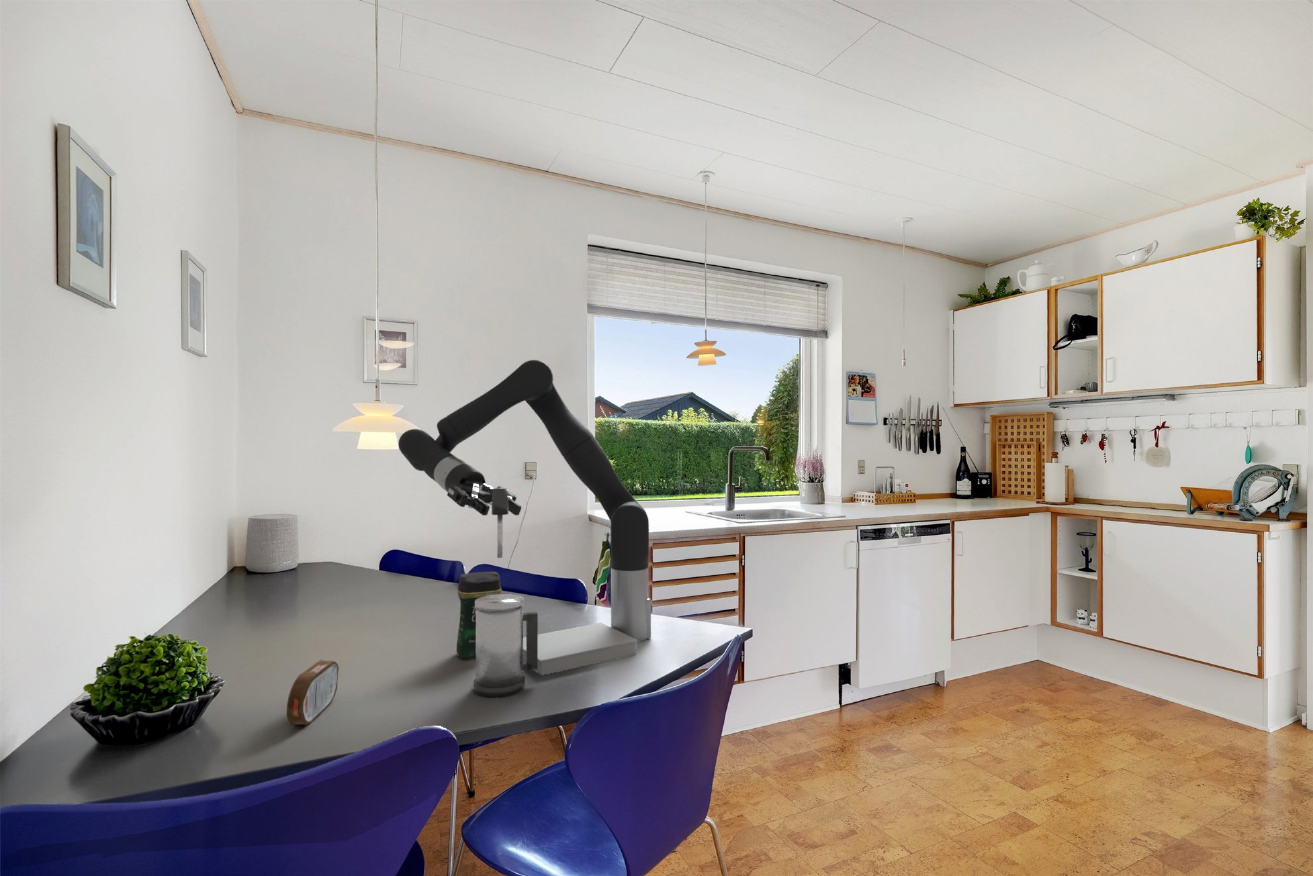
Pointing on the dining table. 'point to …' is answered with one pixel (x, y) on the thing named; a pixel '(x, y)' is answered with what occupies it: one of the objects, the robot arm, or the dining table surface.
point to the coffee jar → (473, 607)
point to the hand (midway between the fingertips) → (503, 511)
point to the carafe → (503, 645)
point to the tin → (312, 692)
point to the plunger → (499, 514)
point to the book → (580, 647)
